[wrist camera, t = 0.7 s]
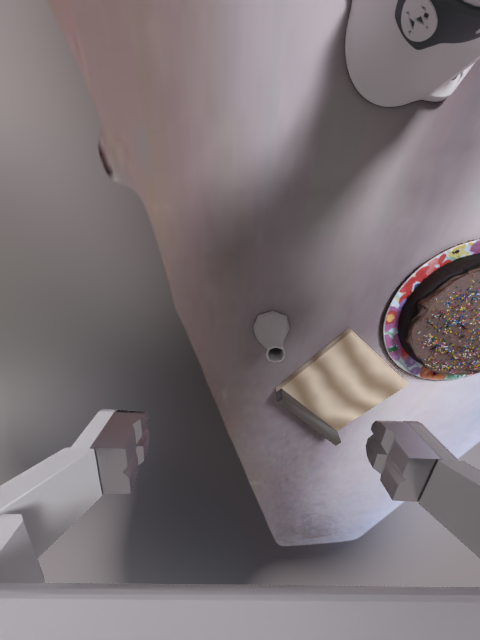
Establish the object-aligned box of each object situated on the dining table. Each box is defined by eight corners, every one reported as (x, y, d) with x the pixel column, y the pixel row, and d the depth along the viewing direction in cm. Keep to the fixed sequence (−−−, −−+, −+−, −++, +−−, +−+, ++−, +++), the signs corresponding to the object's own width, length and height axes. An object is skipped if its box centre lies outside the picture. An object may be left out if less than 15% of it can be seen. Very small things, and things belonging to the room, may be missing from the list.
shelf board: (348, 327, 46) (358, 338, 42) (404, 379, 50) (417, 394, 46) (274, 388, 53) (276, 403, 49) (328, 429, 57) (334, 446, 53)
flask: (288, 343, 48) (296, 374, 39) (252, 342, 48) (252, 372, 39) (291, 310, 45) (301, 335, 36) (253, 309, 45) (253, 334, 36)
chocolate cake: (415, 397, 52) (436, 421, 46) (352, 303, 44) (368, 317, 38) (564, 327, 44) (613, 345, 38) (521, 196, 36) (575, 192, 30)
